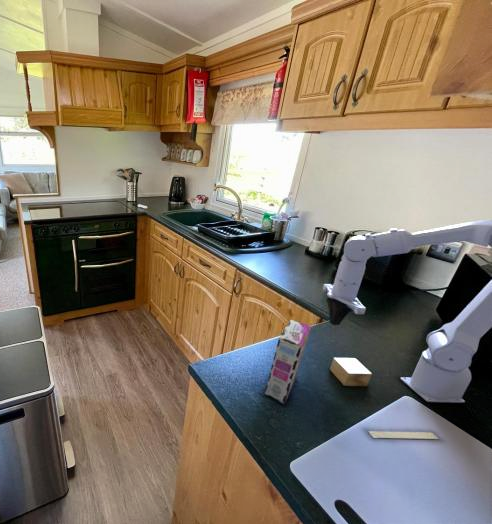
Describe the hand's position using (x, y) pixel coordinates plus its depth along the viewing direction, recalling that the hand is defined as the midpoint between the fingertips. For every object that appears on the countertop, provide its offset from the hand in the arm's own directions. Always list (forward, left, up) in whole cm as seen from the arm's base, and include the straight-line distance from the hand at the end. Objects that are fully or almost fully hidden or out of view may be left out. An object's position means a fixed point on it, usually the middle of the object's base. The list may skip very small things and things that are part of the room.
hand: (334, 323), depth 83 cm
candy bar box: (+20, +14, -11) cm, 27 cm away
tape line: (0, +27, -10) cm, 29 cm away
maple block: (0, +10, -10) cm, 14 cm away
